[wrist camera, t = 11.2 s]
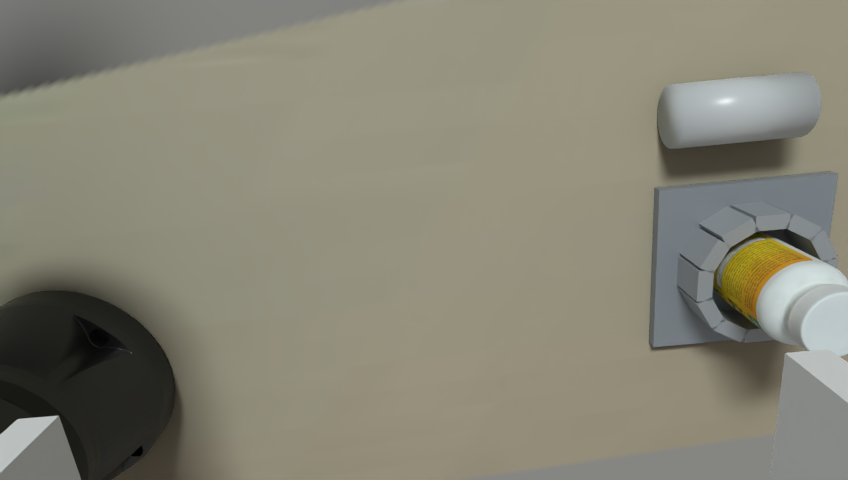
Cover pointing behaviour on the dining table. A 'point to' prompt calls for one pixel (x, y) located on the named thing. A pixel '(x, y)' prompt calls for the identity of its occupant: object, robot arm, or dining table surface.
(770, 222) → the coupling socket
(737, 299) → the supplement bottle
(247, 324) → the dining table surface
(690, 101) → the pipe stub
